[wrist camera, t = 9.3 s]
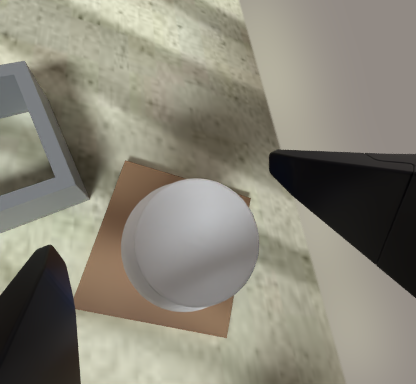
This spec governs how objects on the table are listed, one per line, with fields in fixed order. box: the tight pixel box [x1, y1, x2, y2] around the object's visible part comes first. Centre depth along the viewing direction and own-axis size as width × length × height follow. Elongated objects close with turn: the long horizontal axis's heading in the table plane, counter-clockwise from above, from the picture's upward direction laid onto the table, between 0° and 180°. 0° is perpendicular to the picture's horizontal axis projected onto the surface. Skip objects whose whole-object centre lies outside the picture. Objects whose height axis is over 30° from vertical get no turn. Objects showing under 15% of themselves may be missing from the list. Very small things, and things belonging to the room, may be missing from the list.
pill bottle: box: [121, 178, 259, 312], centre depth 12 cm, size 6×5×10 cm
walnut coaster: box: [74, 161, 251, 338], centre depth 17 cm, size 10×10×1 cm
